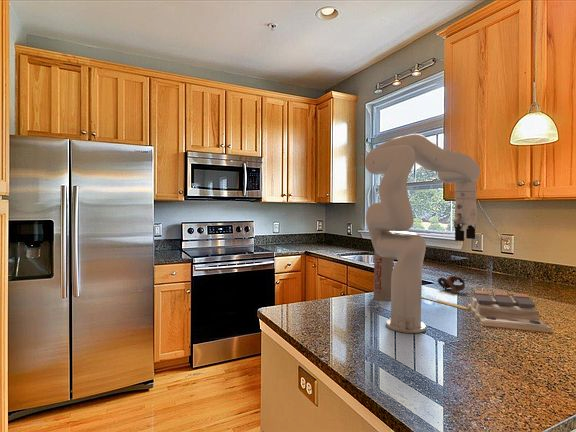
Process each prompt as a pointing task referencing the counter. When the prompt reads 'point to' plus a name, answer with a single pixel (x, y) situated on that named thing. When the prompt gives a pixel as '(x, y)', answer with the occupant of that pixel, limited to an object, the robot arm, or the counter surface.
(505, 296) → the rocker middle
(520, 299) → the rocker right
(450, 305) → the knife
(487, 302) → the rocker left
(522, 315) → the switch unit
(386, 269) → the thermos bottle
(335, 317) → the counter surface
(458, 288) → the brown looped piece
